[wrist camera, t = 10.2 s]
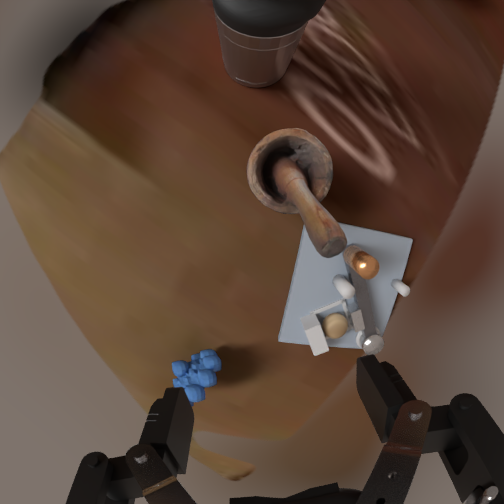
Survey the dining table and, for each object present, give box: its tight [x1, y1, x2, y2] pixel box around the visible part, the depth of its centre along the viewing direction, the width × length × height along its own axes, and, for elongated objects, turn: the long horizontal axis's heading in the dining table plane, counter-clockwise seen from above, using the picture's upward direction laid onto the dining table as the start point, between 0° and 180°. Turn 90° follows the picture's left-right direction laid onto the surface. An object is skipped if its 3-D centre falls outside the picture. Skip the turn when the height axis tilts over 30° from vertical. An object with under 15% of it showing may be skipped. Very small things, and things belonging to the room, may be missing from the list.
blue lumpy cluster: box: [172, 349, 221, 407], centre depth 43 cm, size 12×7×12 cm, turn 138°
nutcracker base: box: [278, 222, 413, 356], centre depth 43 cm, size 20×18×6 cm
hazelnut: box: [322, 313, 348, 339], centre depth 44 cm, size 4×4×4 cm
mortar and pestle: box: [247, 128, 347, 258], centre depth 32 cm, size 12×9×20 cm
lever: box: [342, 243, 384, 355], centre depth 41 cm, size 19×4×8 cm, turn 20°
